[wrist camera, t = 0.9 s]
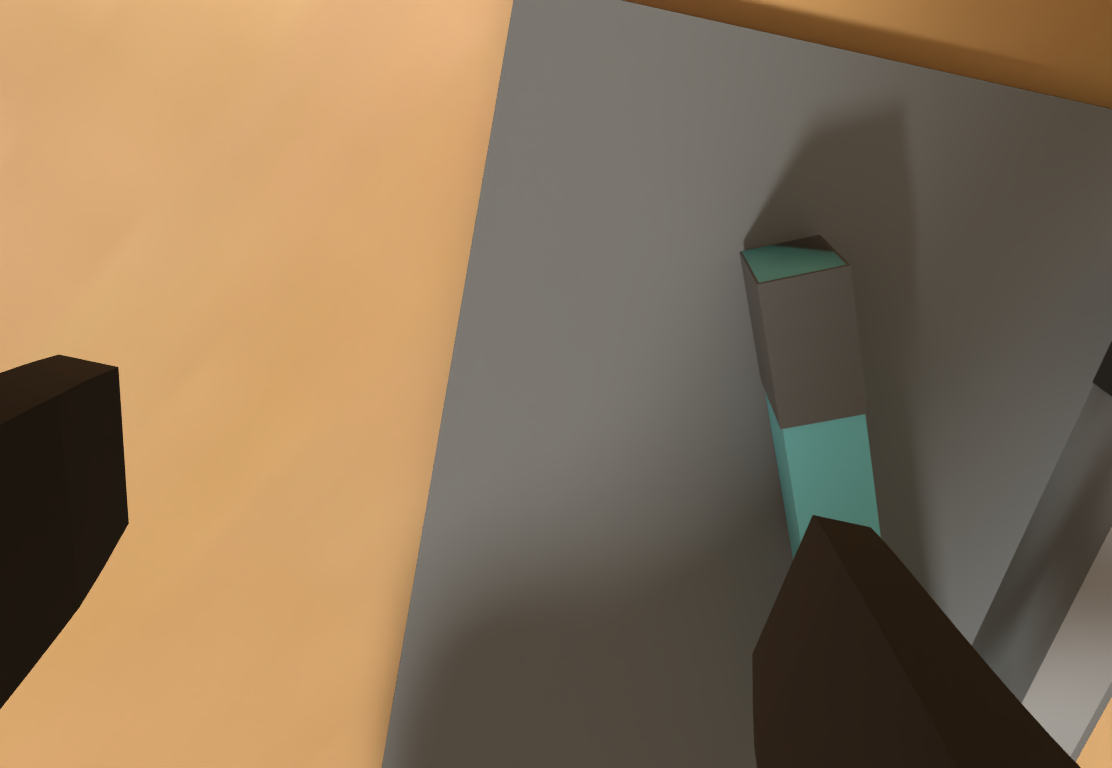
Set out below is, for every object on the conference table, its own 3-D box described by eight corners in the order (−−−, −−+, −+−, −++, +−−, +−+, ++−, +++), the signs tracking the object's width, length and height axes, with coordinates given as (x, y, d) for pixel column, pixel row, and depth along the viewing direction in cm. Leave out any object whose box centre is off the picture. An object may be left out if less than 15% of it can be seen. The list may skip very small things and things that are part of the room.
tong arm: (889, 748, 24) (921, 833, 21) (824, 756, 24) (847, 842, 21) (819, 234, 19) (850, 265, 16) (739, 251, 19) (756, 284, 17)
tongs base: (928, 904, 26) (973, 1034, 22) (779, 873, 26) (803, 999, 22) (1252, 274, 19) (1390, 326, 15) (1048, 229, 19) (1141, 271, 15)
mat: (977, 911, 26) (984, 927, 26) (380, 784, 26) (376, 798, 26) (1381, 169, 18) (1402, 173, 18) (520, -22, 18) (517, -23, 18)
